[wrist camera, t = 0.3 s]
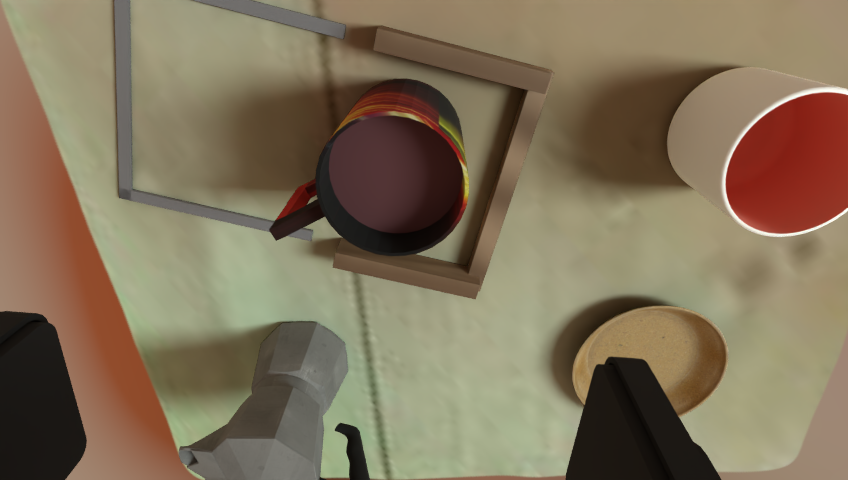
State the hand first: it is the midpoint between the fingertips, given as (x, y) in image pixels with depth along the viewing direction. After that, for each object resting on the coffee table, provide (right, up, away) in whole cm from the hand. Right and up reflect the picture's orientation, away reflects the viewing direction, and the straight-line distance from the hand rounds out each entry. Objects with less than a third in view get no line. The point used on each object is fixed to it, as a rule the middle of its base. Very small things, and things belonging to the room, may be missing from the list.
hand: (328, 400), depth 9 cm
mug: (-1, +10, +35) cm, 36 cm away
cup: (+26, +12, +33) cm, 44 cm away
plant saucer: (+24, -9, +43) cm, 50 cm away
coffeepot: (-10, -9, +44) cm, 46 cm away
